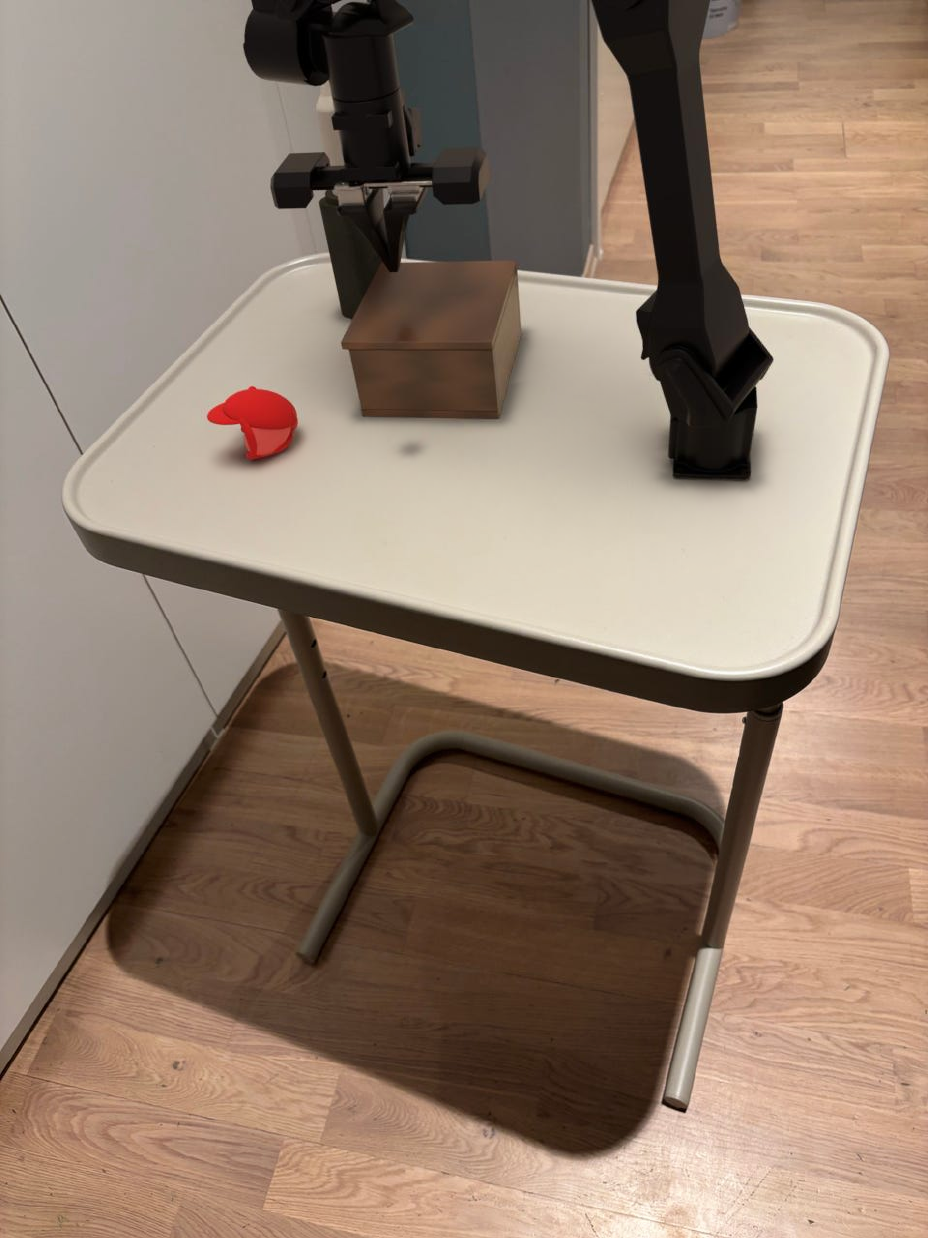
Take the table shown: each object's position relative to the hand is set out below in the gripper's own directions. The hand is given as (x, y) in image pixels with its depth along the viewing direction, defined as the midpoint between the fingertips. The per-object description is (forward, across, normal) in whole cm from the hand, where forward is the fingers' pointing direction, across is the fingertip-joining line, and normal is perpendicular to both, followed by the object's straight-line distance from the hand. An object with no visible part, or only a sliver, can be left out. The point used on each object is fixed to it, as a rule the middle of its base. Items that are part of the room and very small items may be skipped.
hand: (394, 270), depth 89 cm
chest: (+11, -4, 0) cm, 12 cm away
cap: (+11, +12, +13) cm, 21 cm away
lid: (+4, -3, 0) cm, 5 cm away
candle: (+11, +8, -13) cm, 19 cm away
